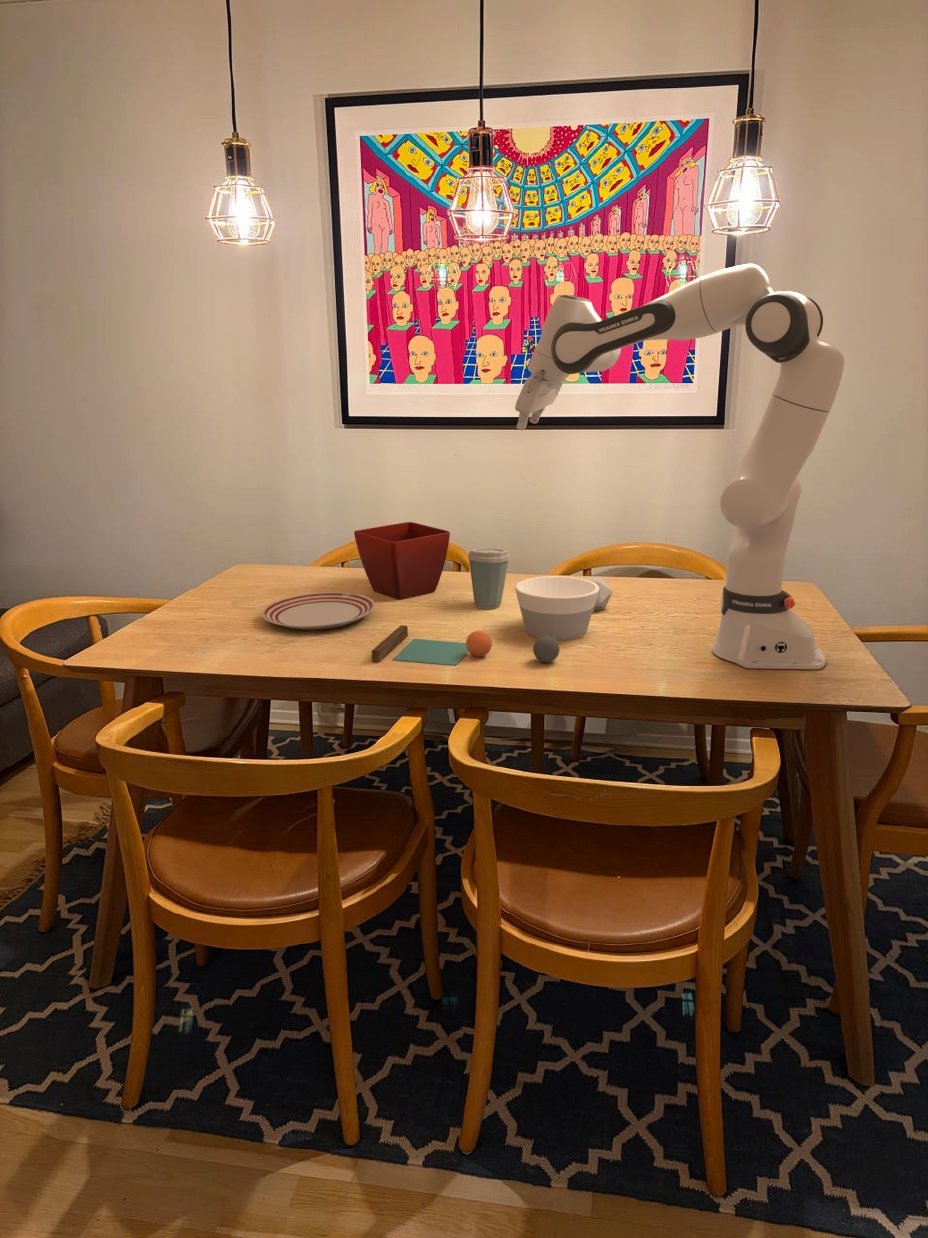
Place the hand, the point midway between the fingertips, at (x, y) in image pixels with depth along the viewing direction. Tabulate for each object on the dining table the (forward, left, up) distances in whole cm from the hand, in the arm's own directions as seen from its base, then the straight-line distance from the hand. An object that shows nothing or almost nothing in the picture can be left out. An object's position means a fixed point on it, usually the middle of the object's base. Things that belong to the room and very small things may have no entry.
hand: (526, 425), depth 194 cm
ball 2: (-11, +32, -43) cm, 55 cm away
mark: (+13, +32, -46) cm, 57 cm away
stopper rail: (+23, +32, -46) cm, 60 cm away
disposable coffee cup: (+10, -5, -46) cm, 47 cm away
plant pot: (+36, -13, -46) cm, 60 cm away
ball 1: (+3, +32, -43) cm, 54 cm away
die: (-16, -9, -46) cm, 49 cm away
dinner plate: (+48, +15, -46) cm, 68 cm away
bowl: (-10, +11, -46) cm, 48 cm away
